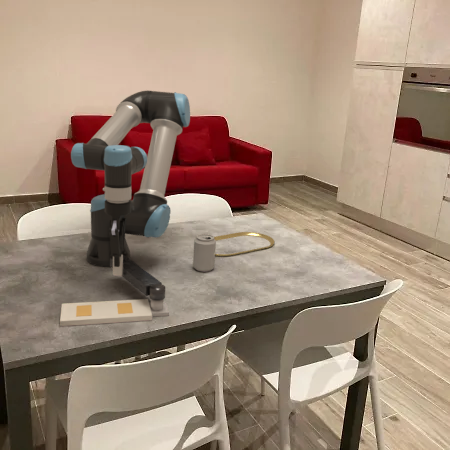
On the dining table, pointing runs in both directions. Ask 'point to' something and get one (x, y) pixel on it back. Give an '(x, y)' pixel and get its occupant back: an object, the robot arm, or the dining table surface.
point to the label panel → (111, 311)
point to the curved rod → (244, 235)
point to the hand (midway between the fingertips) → (117, 274)
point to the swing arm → (141, 279)
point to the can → (204, 252)
